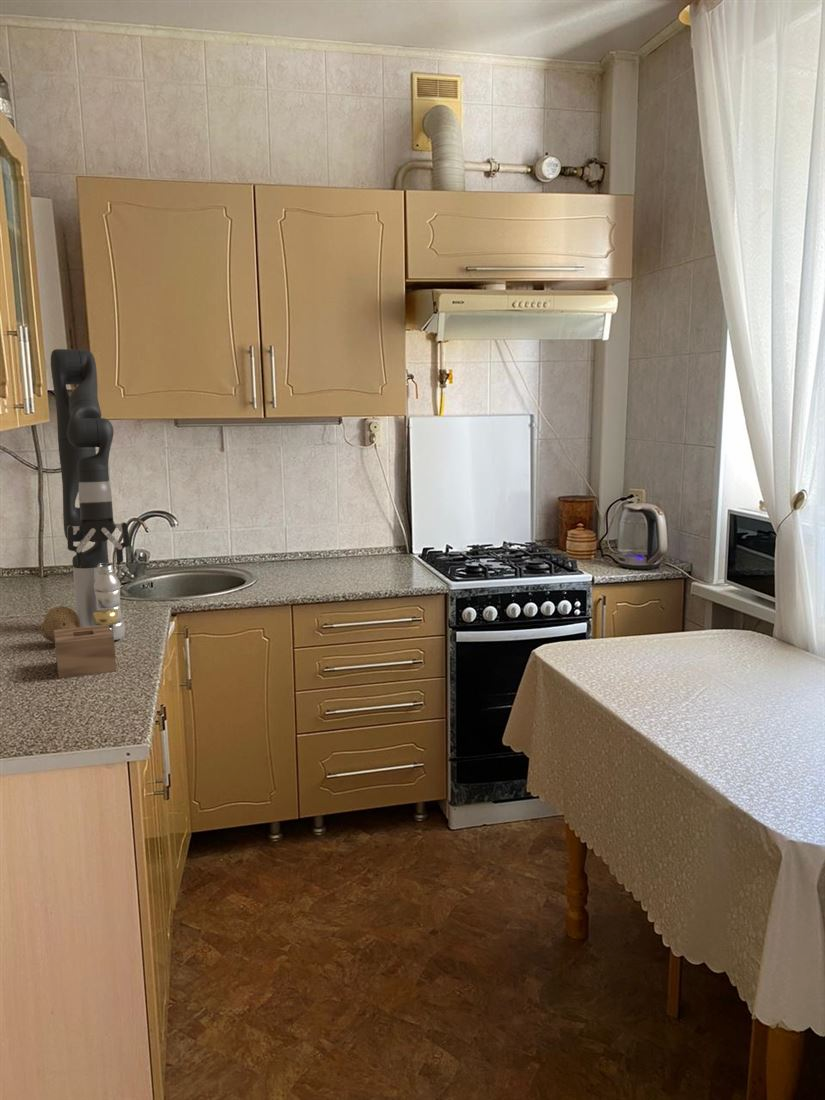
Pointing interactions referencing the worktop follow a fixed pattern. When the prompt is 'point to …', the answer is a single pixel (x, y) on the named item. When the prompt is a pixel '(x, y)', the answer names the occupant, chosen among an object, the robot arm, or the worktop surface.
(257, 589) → the worktop surface
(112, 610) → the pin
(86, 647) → the block
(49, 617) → the natural sponge
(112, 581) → the plastic bottle
